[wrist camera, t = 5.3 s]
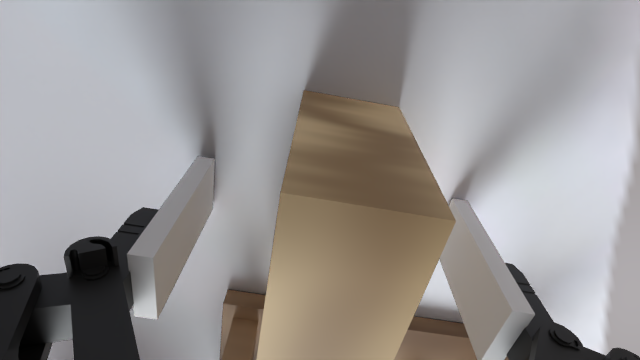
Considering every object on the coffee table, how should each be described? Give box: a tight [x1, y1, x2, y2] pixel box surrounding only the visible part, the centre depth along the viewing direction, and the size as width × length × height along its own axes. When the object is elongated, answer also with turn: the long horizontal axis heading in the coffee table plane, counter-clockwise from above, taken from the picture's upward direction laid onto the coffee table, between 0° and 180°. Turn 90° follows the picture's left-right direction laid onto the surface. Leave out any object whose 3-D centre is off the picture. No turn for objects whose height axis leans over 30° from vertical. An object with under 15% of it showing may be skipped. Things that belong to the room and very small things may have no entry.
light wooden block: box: [256, 90, 456, 360], centre depth 14 cm, size 4×10×8 cm, turn 170°
